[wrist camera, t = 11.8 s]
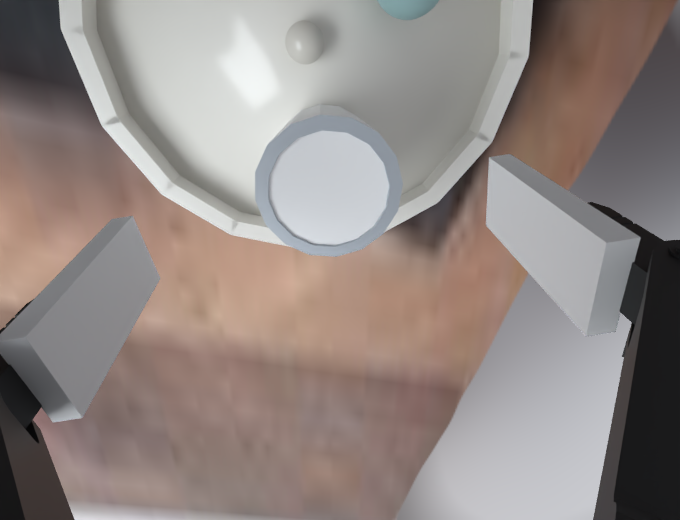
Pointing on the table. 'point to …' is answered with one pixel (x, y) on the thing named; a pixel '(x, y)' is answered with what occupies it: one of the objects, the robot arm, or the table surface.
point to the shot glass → (328, 182)
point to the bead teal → (407, 8)
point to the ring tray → (293, 87)
